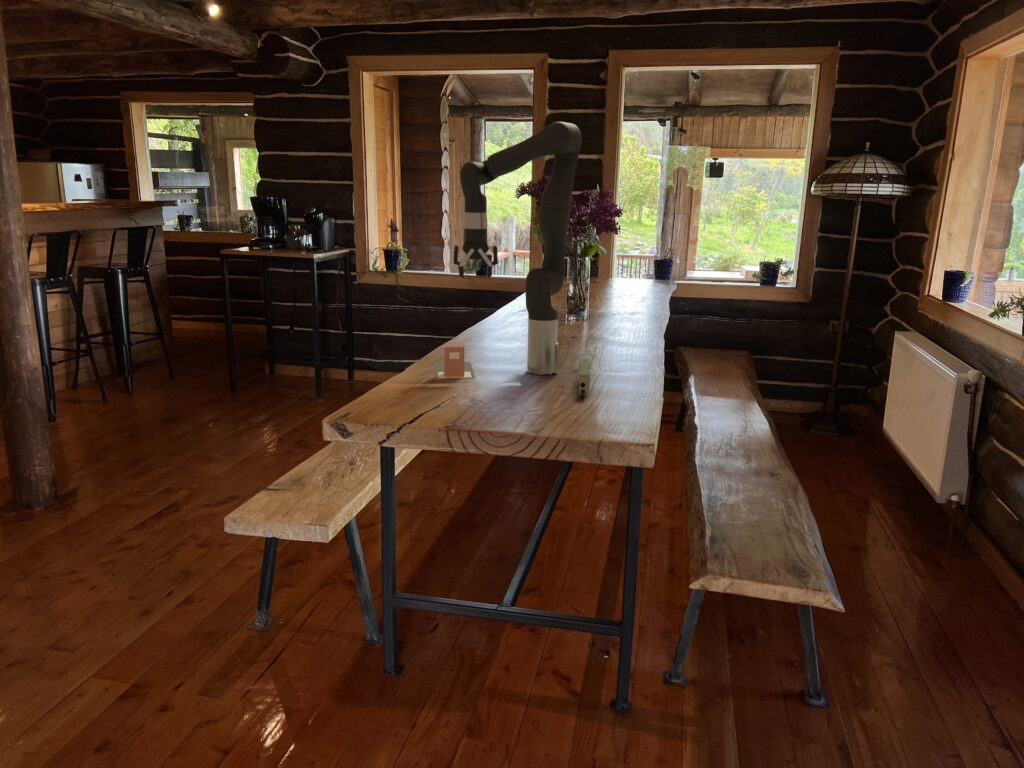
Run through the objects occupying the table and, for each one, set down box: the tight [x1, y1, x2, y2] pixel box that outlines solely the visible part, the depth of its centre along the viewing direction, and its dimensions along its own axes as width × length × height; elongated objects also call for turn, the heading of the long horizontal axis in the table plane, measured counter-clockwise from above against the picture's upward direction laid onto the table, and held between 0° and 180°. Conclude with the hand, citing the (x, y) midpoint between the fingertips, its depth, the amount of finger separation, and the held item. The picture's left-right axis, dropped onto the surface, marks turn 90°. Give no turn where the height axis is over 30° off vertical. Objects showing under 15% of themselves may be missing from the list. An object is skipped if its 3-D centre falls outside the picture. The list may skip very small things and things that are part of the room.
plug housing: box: [443, 343, 465, 377], centre depth 222 cm, size 6×5×9 cm
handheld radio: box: [578, 358, 591, 400], centre depth 212 cm, size 7×3×25 cm
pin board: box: [433, 361, 476, 381], centre depth 228 cm, size 12×22×4 cm, turn 7°
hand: (475, 277), depth 237 cm, fingers open, 8 cm apart
